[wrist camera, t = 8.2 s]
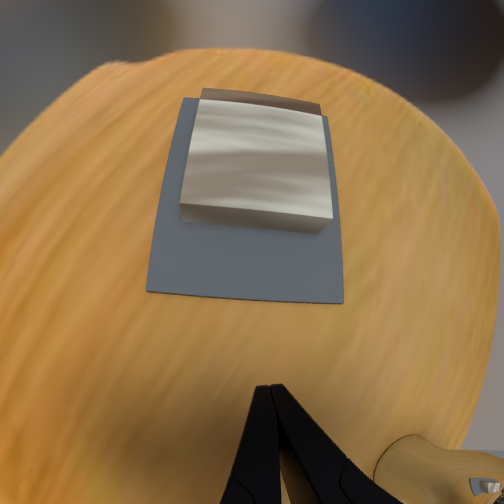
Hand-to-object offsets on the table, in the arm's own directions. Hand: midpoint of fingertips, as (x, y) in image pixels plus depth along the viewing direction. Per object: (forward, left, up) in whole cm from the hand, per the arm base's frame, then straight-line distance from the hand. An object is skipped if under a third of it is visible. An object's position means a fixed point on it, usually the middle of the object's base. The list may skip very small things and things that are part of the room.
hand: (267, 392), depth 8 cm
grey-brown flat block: (+7, -7, -9) cm, 13 cm away
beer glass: (-17, -5, -11) cm, 21 cm away
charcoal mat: (+10, -9, -11) cm, 17 cm away
